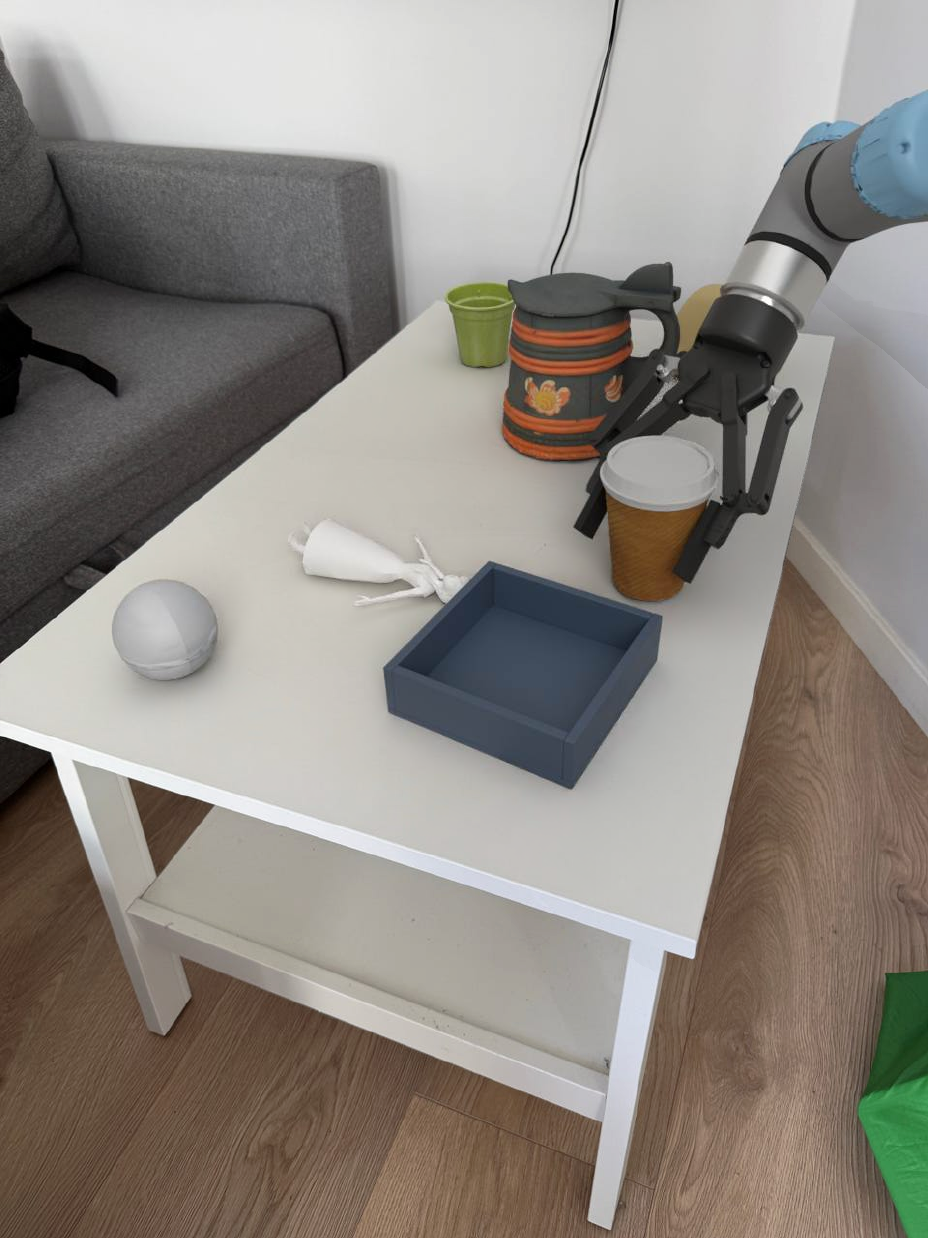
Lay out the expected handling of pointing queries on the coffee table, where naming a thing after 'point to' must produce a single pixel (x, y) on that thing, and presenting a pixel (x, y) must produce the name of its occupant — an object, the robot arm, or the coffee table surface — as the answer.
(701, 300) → the toy pig
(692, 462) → the disposable coffee cup
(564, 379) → the lidded tankard
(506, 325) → the plant pot
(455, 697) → the bin
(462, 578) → the woman figurine
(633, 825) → the coffee table surface
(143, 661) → the bath bomb
